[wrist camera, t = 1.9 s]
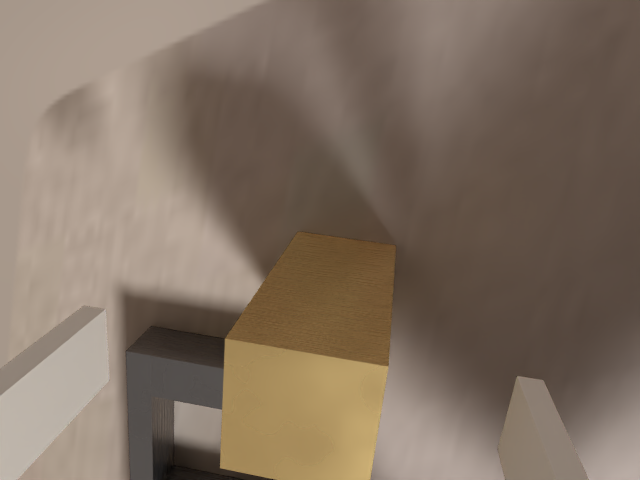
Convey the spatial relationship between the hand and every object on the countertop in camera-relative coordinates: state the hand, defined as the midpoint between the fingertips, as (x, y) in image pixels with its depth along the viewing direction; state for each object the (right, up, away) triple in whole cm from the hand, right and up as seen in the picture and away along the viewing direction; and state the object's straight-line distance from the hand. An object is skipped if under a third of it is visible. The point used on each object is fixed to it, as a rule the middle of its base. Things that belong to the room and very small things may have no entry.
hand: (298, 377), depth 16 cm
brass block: (+2, +2, +8) cm, 8 cm away
